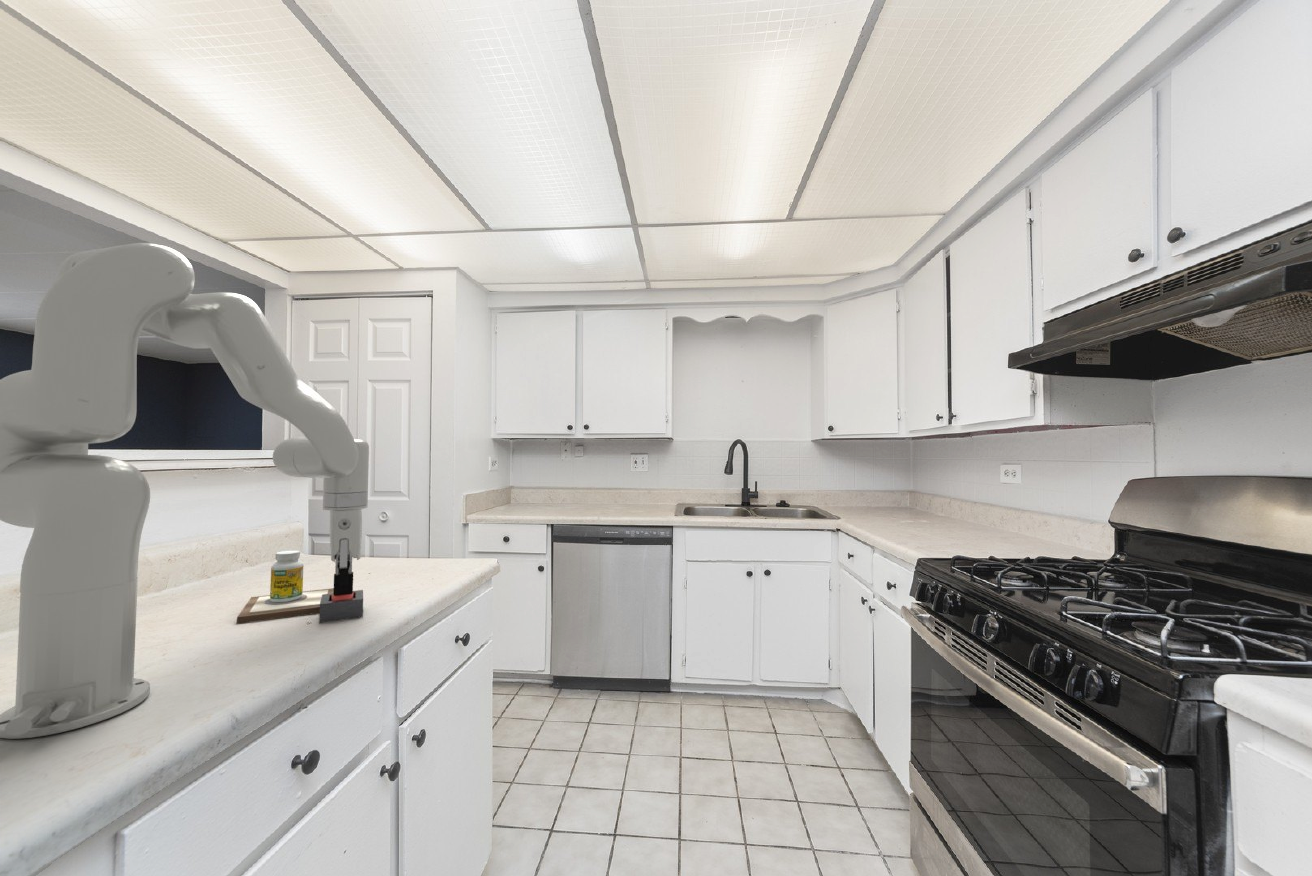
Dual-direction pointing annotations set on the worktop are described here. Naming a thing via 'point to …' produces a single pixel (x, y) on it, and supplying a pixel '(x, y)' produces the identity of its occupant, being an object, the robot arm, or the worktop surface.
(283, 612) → the brown bordered square board
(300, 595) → the supplement bottle
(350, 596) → the button
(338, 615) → the button housing
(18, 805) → the worktop surface
